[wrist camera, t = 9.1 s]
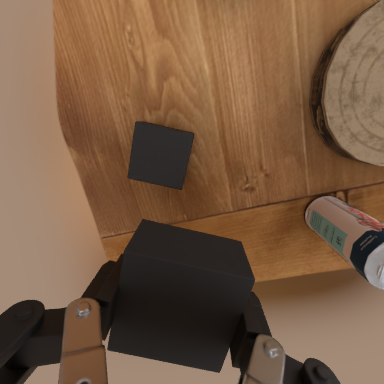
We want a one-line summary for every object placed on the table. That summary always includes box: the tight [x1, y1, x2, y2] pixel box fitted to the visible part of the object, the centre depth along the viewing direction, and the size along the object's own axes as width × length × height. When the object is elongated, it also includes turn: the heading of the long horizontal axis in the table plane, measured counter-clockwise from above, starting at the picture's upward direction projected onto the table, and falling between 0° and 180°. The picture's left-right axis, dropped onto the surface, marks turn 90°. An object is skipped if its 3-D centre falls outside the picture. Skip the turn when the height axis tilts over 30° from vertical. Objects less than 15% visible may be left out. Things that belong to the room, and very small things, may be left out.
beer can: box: [305, 196, 384, 290], centre depth 23 cm, size 5×5×12 cm
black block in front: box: [107, 219, 255, 373], centre depth 12 cm, size 6×6×4 cm
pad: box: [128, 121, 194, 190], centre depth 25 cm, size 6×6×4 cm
